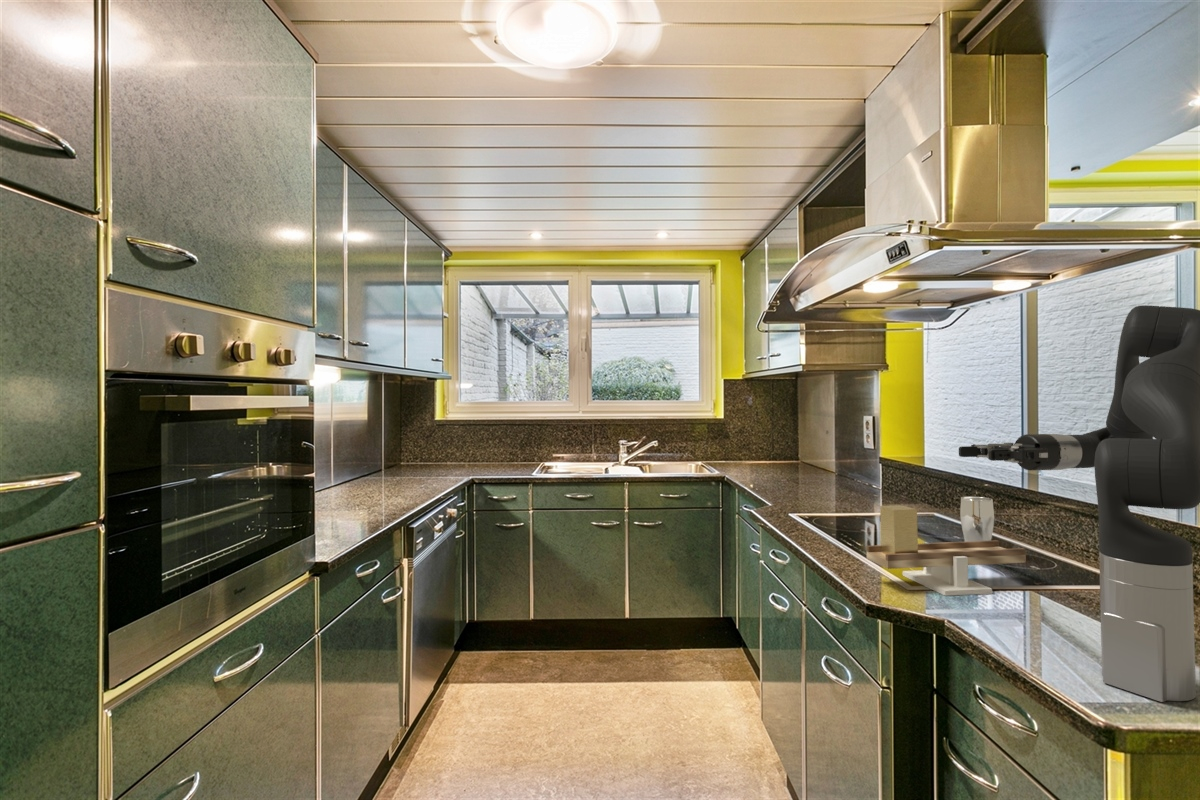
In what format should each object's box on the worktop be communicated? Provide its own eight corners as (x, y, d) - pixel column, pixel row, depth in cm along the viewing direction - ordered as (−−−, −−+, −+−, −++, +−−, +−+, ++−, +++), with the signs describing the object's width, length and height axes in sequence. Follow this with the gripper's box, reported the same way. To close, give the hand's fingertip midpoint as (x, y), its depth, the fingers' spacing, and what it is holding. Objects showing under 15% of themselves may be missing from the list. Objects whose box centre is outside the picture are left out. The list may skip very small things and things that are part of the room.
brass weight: (903, 551, 125) (902, 505, 125) (918, 557, 120) (916, 509, 120) (881, 552, 124) (880, 506, 124) (895, 558, 119) (893, 510, 119)
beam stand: (944, 573, 130) (944, 542, 130) (992, 593, 116) (991, 558, 116) (902, 575, 129) (902, 544, 129) (945, 595, 115) (944, 560, 115)
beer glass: (956, 555, 146) (954, 496, 146) (986, 556, 145) (985, 496, 145) (969, 563, 139) (967, 500, 139) (1000, 563, 138) (999, 500, 138)
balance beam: (996, 552, 128) (996, 540, 128) (1025, 562, 120) (1025, 549, 120) (866, 558, 126) (866, 545, 126) (888, 568, 118) (887, 555, 118)
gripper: (1019, 432, 128) (950, 433, 127) (1077, 435, 114) (1000, 436, 112) (1020, 466, 128) (950, 467, 127) (1078, 473, 114) (1001, 475, 112)
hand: (974, 453), depth 120 cm, fingers open, 8 cm apart
